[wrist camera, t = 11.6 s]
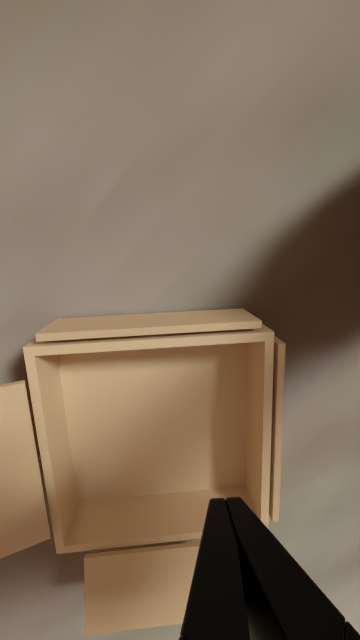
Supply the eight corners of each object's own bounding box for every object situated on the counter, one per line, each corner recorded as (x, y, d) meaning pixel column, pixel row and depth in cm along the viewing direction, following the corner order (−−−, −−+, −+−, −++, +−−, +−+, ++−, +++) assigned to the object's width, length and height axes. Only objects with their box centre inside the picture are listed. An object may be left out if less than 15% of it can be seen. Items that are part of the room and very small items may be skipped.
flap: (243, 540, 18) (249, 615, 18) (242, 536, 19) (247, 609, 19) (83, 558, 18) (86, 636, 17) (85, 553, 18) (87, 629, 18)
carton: (262, 306, 20) (286, 319, 16) (258, 484, 23) (278, 530, 19) (46, 318, 19) (20, 334, 15) (73, 503, 22) (56, 554, 18)
